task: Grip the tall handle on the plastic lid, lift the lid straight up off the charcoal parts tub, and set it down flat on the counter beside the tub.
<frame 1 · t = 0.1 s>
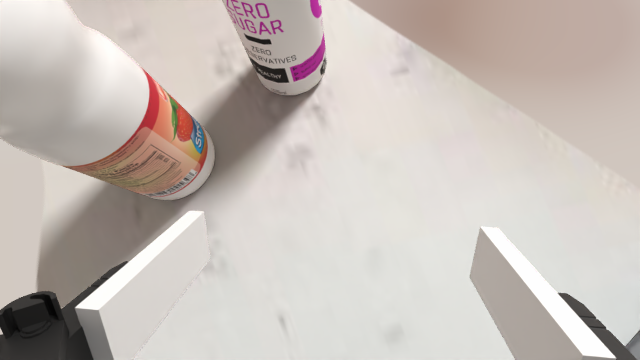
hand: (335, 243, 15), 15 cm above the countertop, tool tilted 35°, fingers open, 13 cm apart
supplement can: (292, 69, 36), on the countertop
fruit juice: (177, 161, 34), on the countertop
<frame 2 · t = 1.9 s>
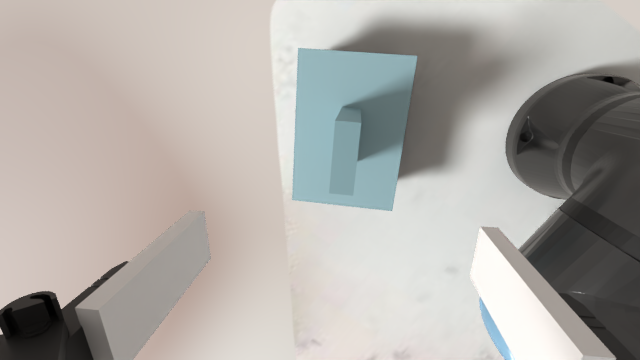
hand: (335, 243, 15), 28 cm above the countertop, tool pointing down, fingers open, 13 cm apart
lid: (348, 133, 34), point 7 cm above the countertop, touching parts tub
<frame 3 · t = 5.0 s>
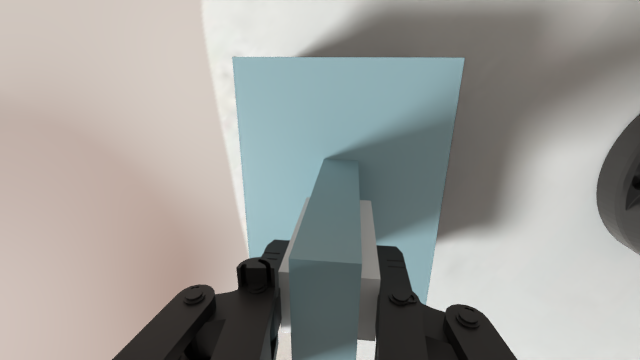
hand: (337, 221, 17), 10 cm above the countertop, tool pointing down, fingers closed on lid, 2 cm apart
lid: (340, 200, 19), point 7 cm above the countertop, touching gripper, parts tub
when the fingers open (4 cm above the countertop, at t = 12.3 s): lid drops 2 cm, on the countertop.
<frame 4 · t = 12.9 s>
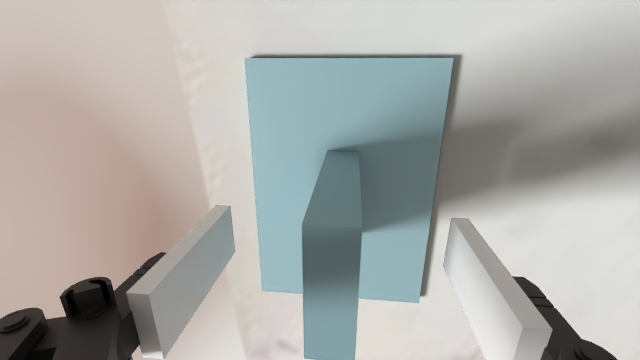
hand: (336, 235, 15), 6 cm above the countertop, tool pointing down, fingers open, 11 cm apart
lid: (342, 188, 21), on the countertop
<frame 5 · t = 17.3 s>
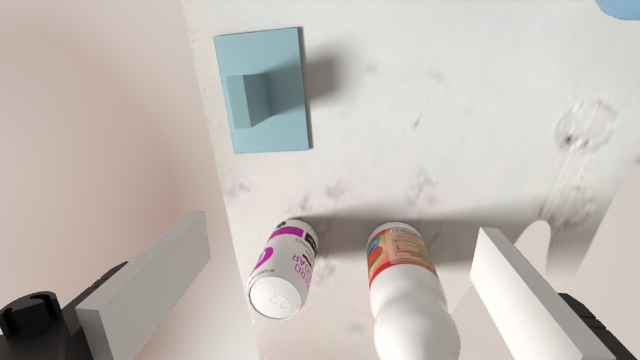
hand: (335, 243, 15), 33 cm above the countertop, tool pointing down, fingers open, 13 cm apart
supplement can: (295, 237, 53), on the countertop
lid: (265, 95, 45), on the countertop
fruit juice: (394, 244, 51), on the countertop
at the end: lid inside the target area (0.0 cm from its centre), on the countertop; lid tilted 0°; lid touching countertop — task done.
